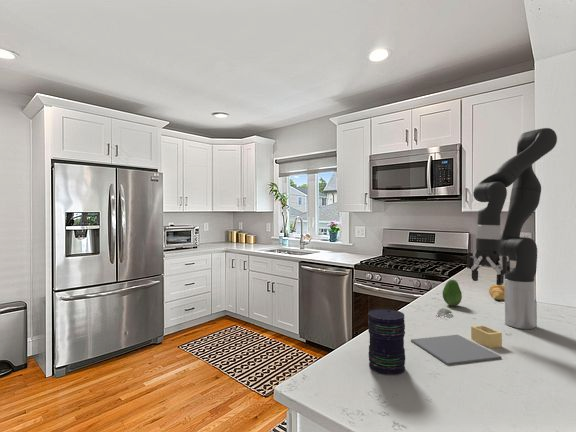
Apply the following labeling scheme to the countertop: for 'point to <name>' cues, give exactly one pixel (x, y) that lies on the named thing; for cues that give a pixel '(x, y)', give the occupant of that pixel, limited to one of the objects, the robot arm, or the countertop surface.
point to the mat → (455, 349)
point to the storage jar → (386, 341)
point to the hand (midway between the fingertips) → (486, 282)
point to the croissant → (497, 291)
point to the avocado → (452, 293)
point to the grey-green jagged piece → (444, 313)
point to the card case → (486, 336)
